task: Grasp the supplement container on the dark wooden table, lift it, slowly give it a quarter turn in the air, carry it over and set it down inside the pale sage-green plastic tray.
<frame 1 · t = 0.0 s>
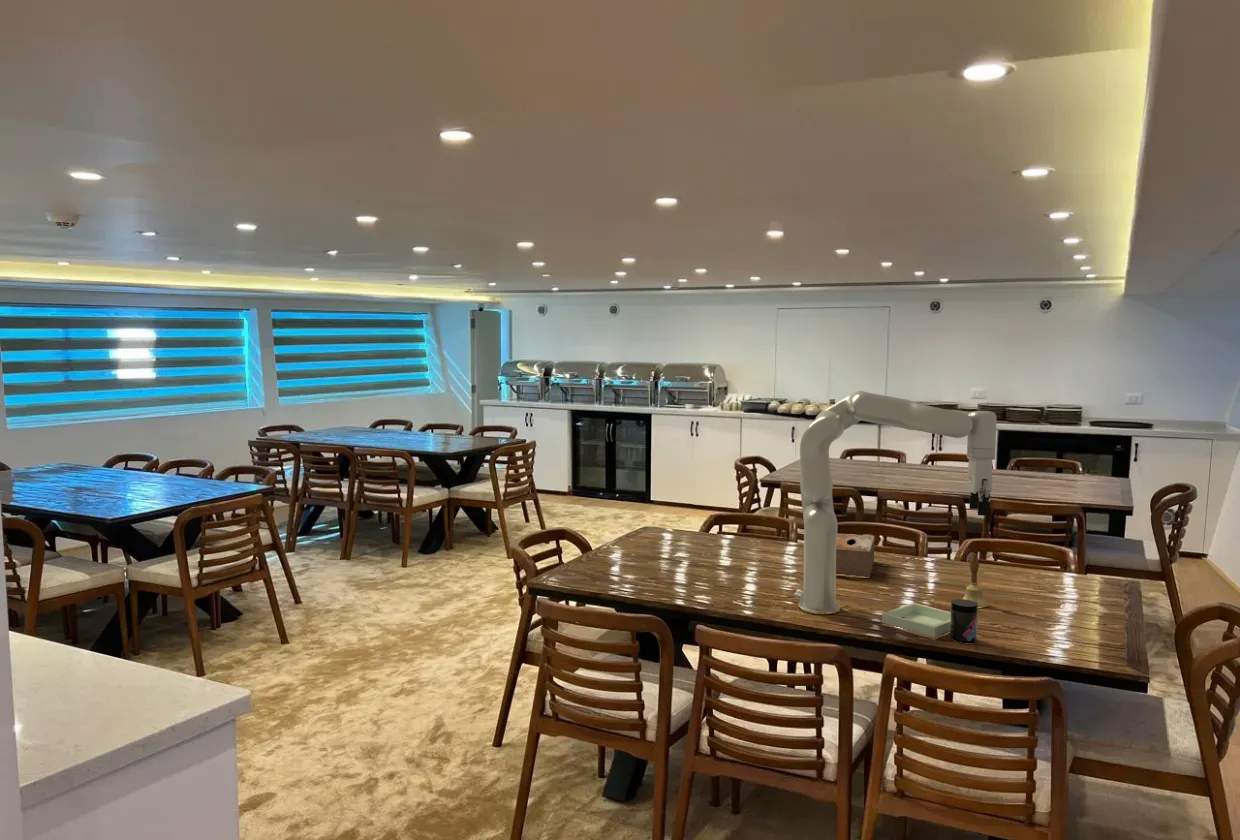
hand: (979, 512, 237), 31 cm above the table, tool pointing down, fingers open, 9 cm apart
supplement container: (963, 641, 220), on the table
tissue box cover: (850, 569, 295), on the table
hand bell: (973, 605, 251), on the table
tray: (922, 626, 231), on the table
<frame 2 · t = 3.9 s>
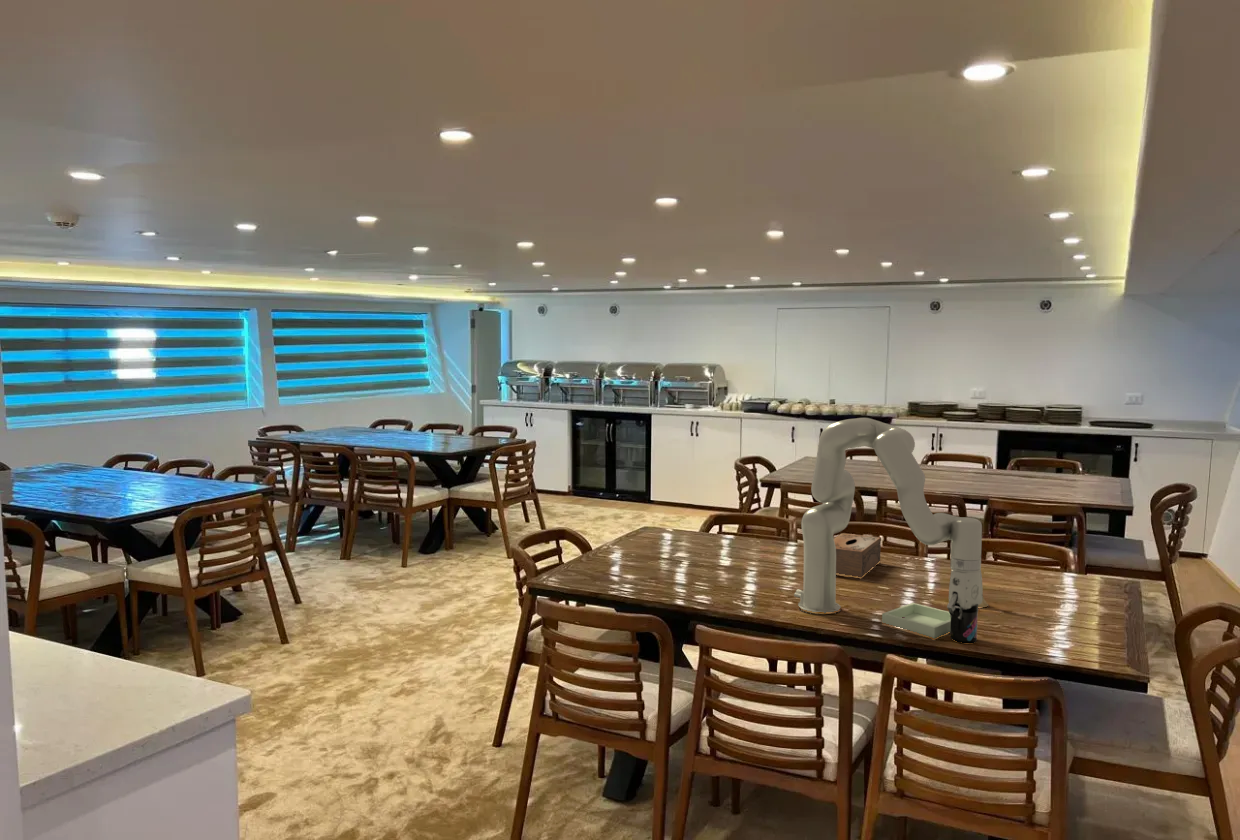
hand: (963, 628, 219), 3 cm above the table, tool pointing down, fingers closed on supplement container, 6 cm apart
supplement container: (963, 641, 219), on the table, touching gripper
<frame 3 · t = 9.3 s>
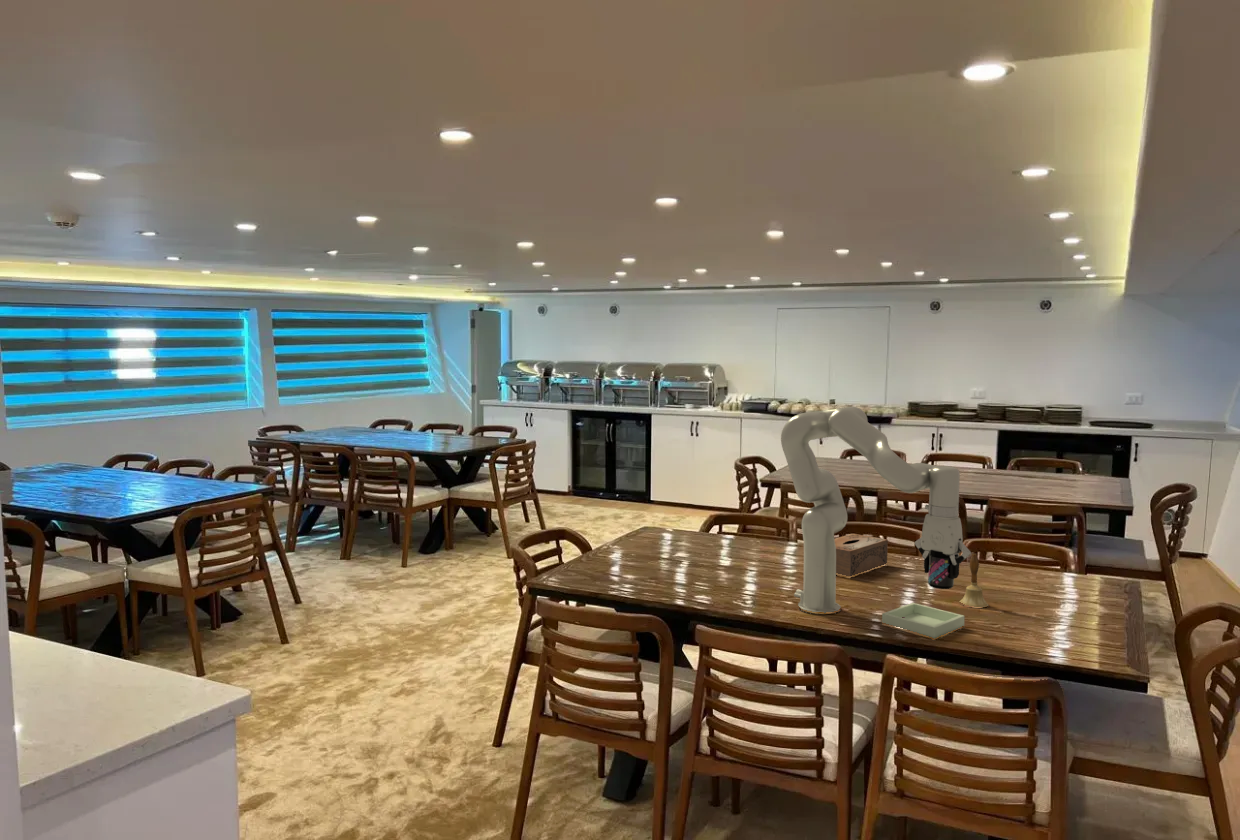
hand: (941, 574, 225), 16 cm above the table, tool pointing down, fingers closed on supplement container, 6 cm apart
supplement container: (940, 586, 225), point 13 cm above the table, touching gripper
when the fingers open (5 cm above the table, at t = 14.8 s): supplement container stays where it is, resting on tray.
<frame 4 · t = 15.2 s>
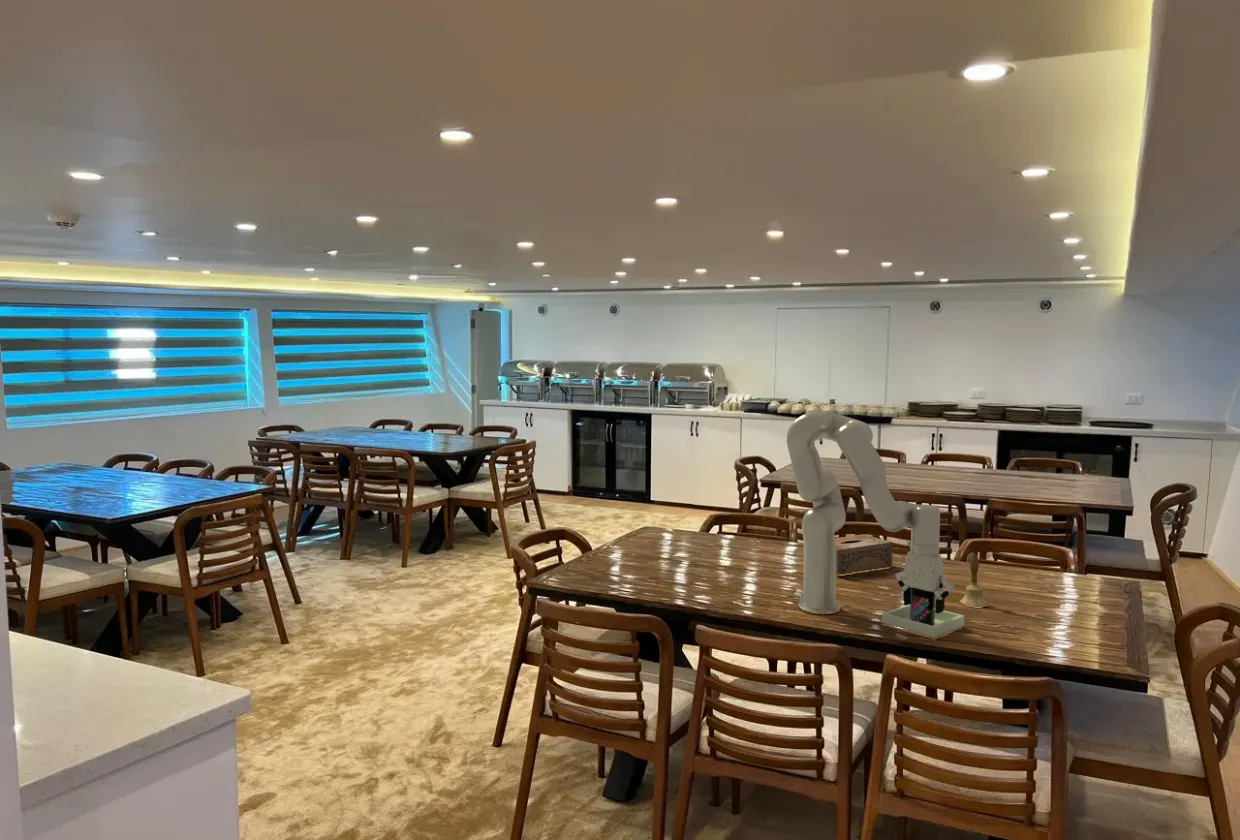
hand: (923, 608, 230), 5 cm above the table, tool pointing down, fingers open, 9 cm apart
supplement container: (921, 624, 231), point 1 cm above the table, touching tray
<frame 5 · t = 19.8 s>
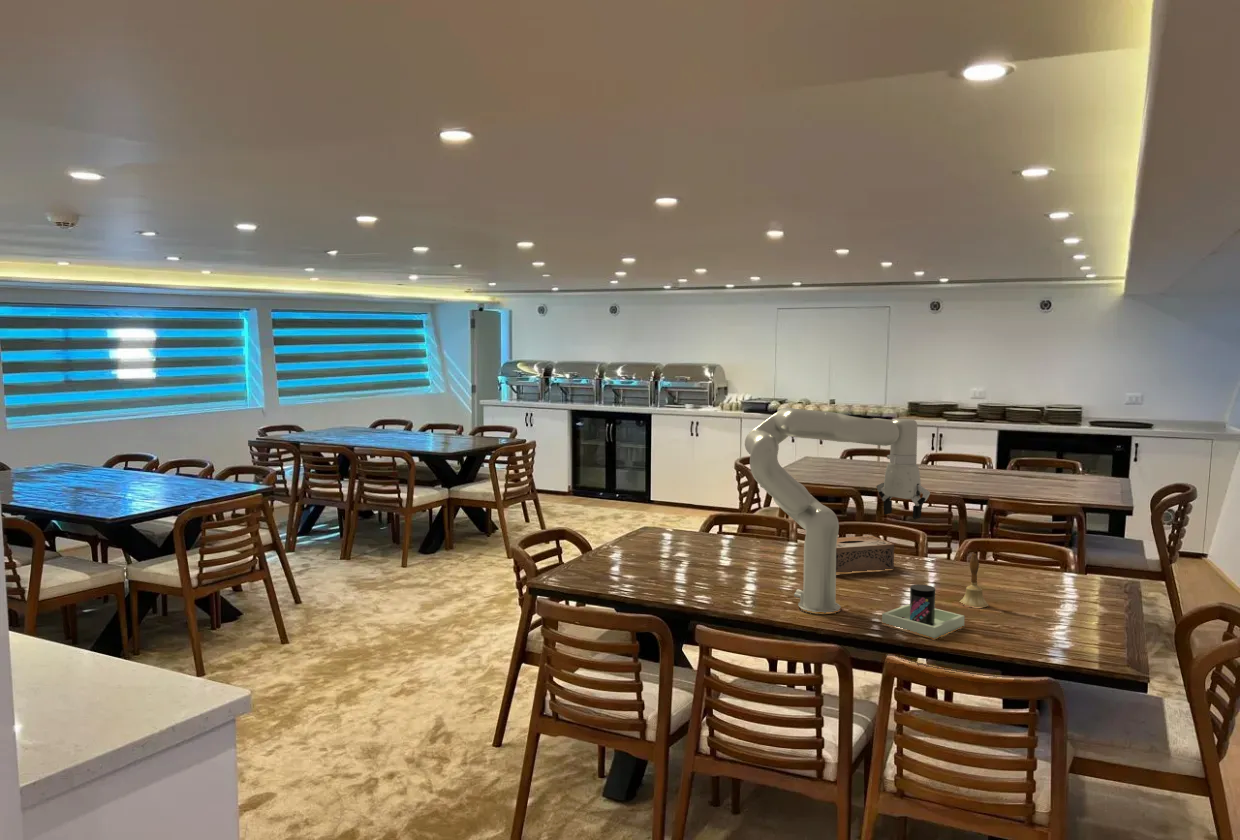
hand: (902, 516, 246), 28 cm above the table, tool pointing down, fingers open, 9 cm apart
at the end: supplement container inside the target area on the tray (0.3 cm from its centre), point 0.6 cm above the tray's base; supplement container touching tray; the gripper is holding nothing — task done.
